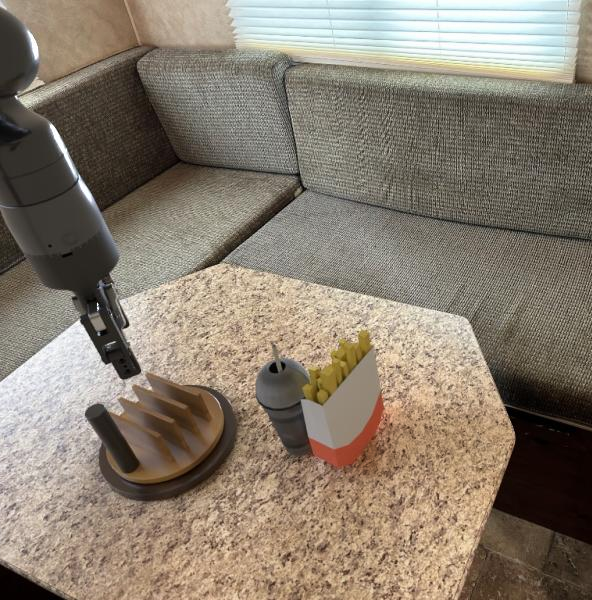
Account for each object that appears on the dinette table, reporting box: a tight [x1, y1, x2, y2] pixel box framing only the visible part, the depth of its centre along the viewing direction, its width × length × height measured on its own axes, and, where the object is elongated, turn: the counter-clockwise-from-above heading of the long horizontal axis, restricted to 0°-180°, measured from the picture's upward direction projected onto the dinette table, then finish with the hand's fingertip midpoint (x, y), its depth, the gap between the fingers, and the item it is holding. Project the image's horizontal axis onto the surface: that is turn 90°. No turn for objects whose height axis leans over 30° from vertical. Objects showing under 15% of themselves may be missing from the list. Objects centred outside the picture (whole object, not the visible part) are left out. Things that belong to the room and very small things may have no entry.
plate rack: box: [84, 371, 224, 484], centre depth 82 cm, size 16×16×12 cm
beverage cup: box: [254, 344, 313, 457], centre depth 78 cm, size 7×7×20 cm
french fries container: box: [301, 329, 385, 468], centre depth 78 cm, size 5×11×18 cm, turn 148°
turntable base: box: [98, 384, 239, 502], centre depth 86 cm, size 19×19×2 cm
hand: (126, 350), depth 67 cm, fingers open, 8 cm apart
